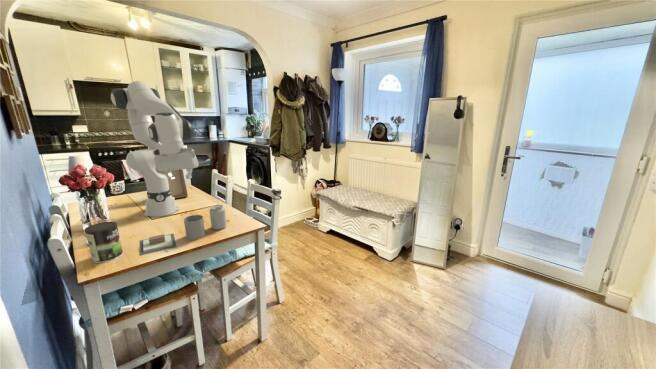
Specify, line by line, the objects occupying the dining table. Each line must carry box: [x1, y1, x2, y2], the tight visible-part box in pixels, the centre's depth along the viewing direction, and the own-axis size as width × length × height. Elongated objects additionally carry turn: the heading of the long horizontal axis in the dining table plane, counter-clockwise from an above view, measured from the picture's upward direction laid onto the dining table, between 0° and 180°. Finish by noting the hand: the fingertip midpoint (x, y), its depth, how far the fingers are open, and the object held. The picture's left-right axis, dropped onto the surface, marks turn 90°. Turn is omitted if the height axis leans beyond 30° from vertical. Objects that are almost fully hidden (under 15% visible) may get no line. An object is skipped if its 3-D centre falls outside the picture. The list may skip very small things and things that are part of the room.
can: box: [209, 204, 227, 231], centre depth 139 cm, size 8×8×12 cm
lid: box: [142, 233, 172, 252], centre depth 121 cm, size 11×11×3 cm
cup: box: [183, 214, 206, 241], centre depth 128 cm, size 8×8×10 cm
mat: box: [138, 233, 178, 257], centre depth 122 cm, size 16×14×1 cm
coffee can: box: [84, 221, 124, 264], centre depth 109 cm, size 10×10×14 cm
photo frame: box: [156, 169, 189, 199], centre depth 181 cm, size 15×22×25 cm
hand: (180, 179), depth 120 cm, fingers open, 8 cm apart
